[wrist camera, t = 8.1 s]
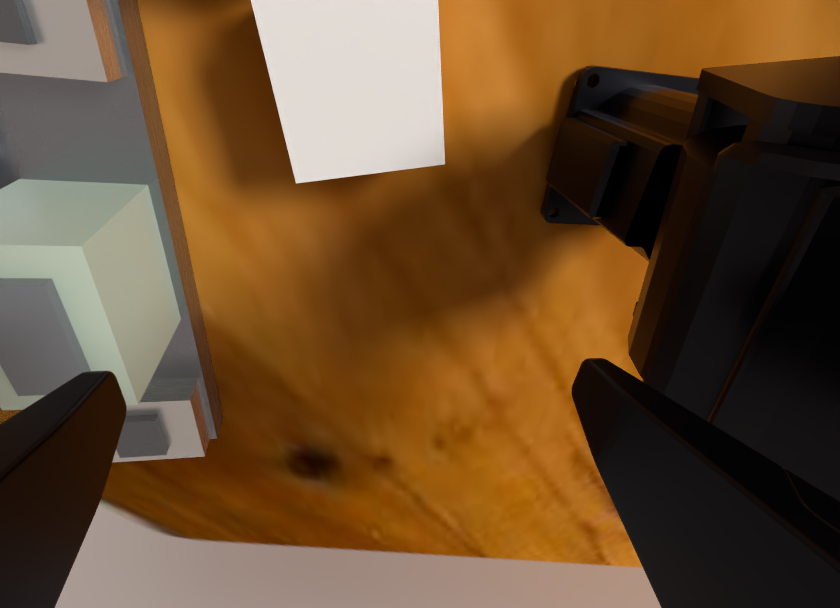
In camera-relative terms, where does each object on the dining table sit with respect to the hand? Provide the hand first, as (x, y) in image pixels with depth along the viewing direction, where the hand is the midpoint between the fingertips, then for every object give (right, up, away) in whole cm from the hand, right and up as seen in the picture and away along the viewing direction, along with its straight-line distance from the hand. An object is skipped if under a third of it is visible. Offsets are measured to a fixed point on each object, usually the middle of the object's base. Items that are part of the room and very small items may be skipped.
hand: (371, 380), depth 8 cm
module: (-11, +3, +8) cm, 14 cm away
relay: (-1, +10, +8) cm, 13 cm away
